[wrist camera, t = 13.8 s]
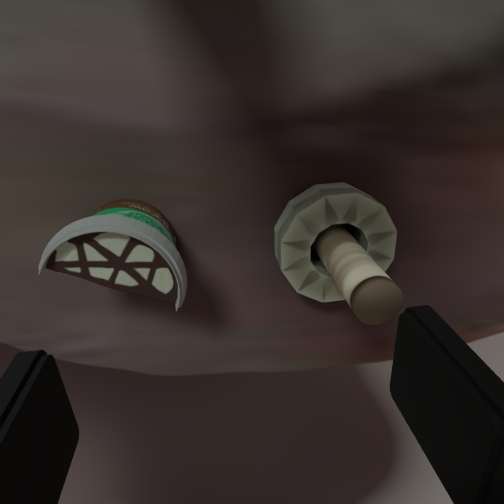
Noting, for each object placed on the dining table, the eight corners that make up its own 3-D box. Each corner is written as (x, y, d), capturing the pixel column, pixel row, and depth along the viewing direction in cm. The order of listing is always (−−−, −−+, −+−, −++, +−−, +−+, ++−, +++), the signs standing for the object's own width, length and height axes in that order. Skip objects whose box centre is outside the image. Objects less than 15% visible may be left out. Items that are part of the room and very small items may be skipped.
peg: (309, 220, 42) (355, 284, 29) (345, 217, 42) (406, 279, 30) (309, 253, 44) (352, 327, 31) (343, 250, 44) (400, 322, 32)
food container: (205, 211, 40) (207, 252, 31) (186, 261, 42) (182, 313, 33) (84, 169, 37) (46, 201, 28) (69, 225, 39) (30, 272, 30)
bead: (272, 188, 40) (279, 199, 36) (384, 178, 41) (402, 189, 37) (275, 288, 45) (282, 306, 42) (375, 277, 46) (389, 294, 43)
